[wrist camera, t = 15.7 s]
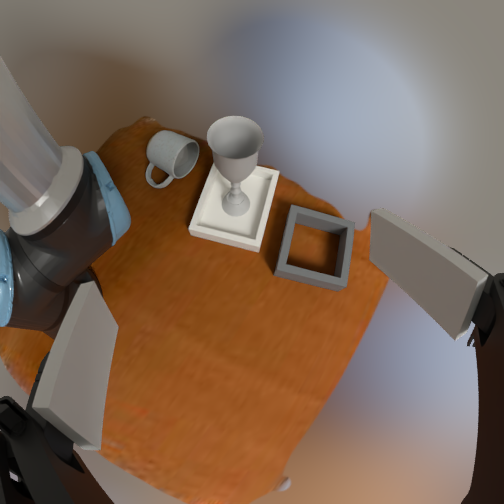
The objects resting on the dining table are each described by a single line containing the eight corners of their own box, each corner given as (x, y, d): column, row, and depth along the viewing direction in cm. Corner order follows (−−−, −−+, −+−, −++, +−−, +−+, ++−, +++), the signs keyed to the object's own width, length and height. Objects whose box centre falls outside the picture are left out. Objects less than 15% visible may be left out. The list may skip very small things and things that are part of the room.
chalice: (210, 193, 48) (199, 124, 31) (245, 181, 50) (249, 110, 32) (225, 228, 47) (219, 166, 29) (262, 214, 48) (274, 149, 31)
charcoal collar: (273, 275, 45) (276, 269, 42) (287, 214, 49) (291, 204, 45) (337, 291, 45) (346, 287, 41) (346, 231, 48) (354, 222, 45)
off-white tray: (191, 235, 47) (188, 229, 44) (216, 165, 51) (215, 157, 49) (258, 252, 46) (259, 247, 44) (277, 179, 51) (279, 171, 48)
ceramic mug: (171, 143, 53) (163, 119, 45) (202, 158, 52) (197, 133, 44) (139, 180, 50) (126, 159, 43) (169, 198, 49) (158, 176, 42)
